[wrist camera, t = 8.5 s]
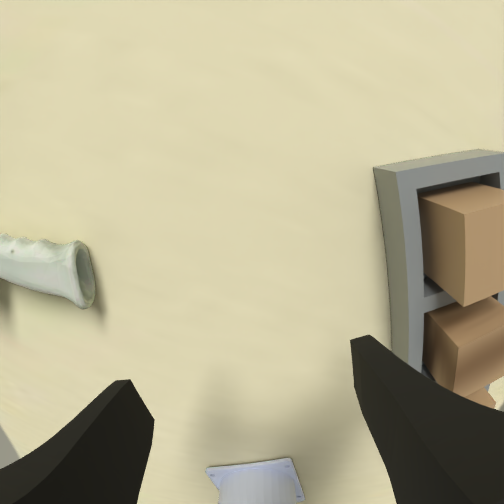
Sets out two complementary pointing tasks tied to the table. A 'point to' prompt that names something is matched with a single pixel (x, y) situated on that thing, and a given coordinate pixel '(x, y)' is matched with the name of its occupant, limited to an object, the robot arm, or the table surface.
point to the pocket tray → (410, 242)
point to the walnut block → (465, 345)
